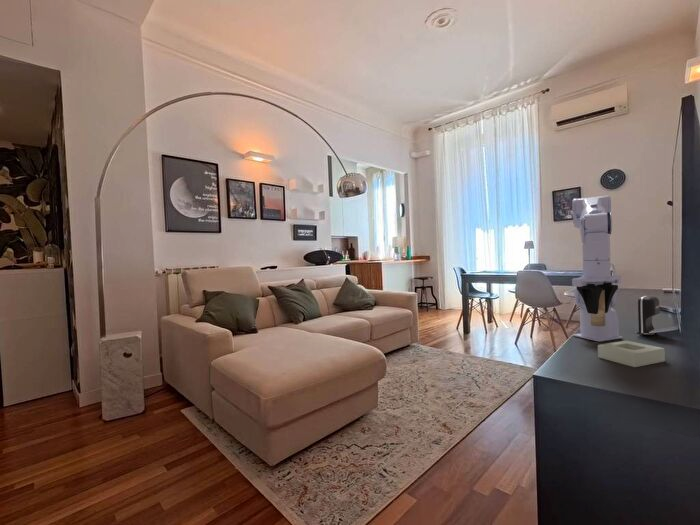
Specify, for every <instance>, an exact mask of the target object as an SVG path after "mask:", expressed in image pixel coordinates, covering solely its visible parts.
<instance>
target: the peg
mask: <svg viewBox="0 0 700 525" xmlns="http://www.w3.org/2000/svg"><path fill="white" fill-rule="evenodd" d="M591 325H593V326H605V290H602V292H601V295H600V298H599V308H598V313H597V314H591Z"/></svg>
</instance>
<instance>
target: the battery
mask: <svg viewBox="0 0 700 525" xmlns="http://www.w3.org/2000/svg"><path fill="white" fill-rule="evenodd" d="M660 313H661V308H660V299H659V298H658V297H657V296H649V295H642V296H640V297H638V299H637V318H638V322H637V323H638V335H639V334H641V333H649V332H651V331H654V330H656V329H655V327H654V325H653V317H654V316H657V315H659V314H660Z"/></svg>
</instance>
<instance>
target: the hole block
mask: <svg viewBox="0 0 700 525" xmlns="http://www.w3.org/2000/svg"><path fill="white" fill-rule="evenodd" d="M665 350H666V349H665V348H664V347H660V346H655V345H650V344H645V343H641V342H636V341H630V340H622V341H621V340H620V341H614V342H608V343H601V344H598V345H597V358H599V359H603V360H606V361H611V362H614V363H617V364H621V365H625V366H629V367H633V368H637V367H643V366H648V365H652V364H659V363H664V362H665V360H666V359H665V358H666V356H665Z"/></svg>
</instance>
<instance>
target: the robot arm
mask: <svg viewBox="0 0 700 525" xmlns="http://www.w3.org/2000/svg"><path fill="white" fill-rule="evenodd" d="M611 200H612V199H611V196H610V195H609V194H606V195H602V196H601V195H599V196H591V197H580V198H573V199H572V200H571V202H572V203H571V207H572V208H571V209H572V222H573V223H572V224H574V226H573V227H575V228H577V229H578V230H579V233H580V236H581V237H580V238H581V243H582V245H581V246H582V275H581V276H579V277H577V278H575V277H574V278H572V279H571V283H572V284H571V285H572V287H573V288H574V289H573V290H574V304H575V305H576V307H579V318H580V319H579V325H580V326H579V329H580V333H574V335H573V337H577V338H581V339H585V340H589V341H590V340H591V341H594V342H600V343H601V342H605V341H606V342H607V341H612V340H619V339H623V336H621V335H620V334H619V333H620V332H619V330H620V329H619V328H620V327H619V326H620V325H619V315H618V313H617V311H616V310H615V309H614V307H615V306H616V305H617V291H618V289H619V285H618V284H621V282H622V281H621V278H622V276H621V275H611V270H612V269H611V268H612V267H611V237H610V236H611V235H612V232H613V218H612V217H613V216H612V213H611V212H612V201H611ZM602 290H605V326H593V325H591V314H597V313H598V308H599V298H600V295H601V292H602Z"/></svg>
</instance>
